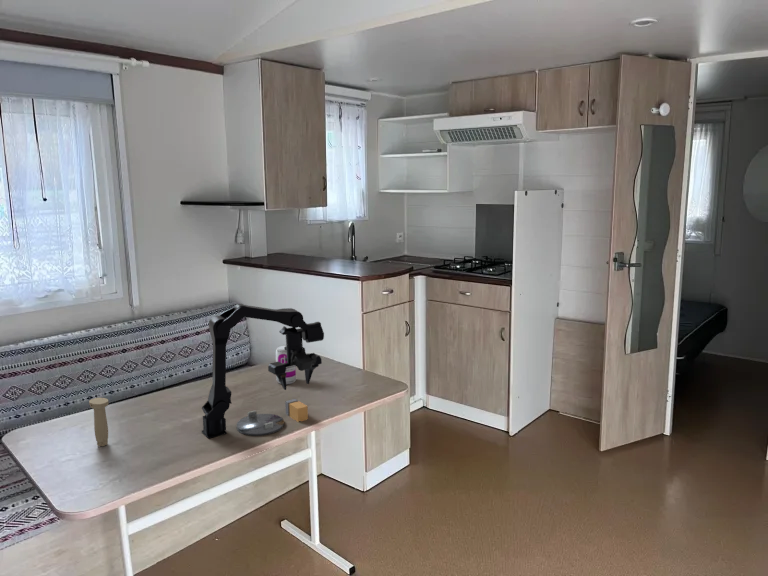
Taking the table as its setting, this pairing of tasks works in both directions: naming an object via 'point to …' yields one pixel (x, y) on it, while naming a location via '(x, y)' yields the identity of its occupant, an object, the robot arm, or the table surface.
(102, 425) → the handle
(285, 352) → the supplement can
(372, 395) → the table surface
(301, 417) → the tan and grey block
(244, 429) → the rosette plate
